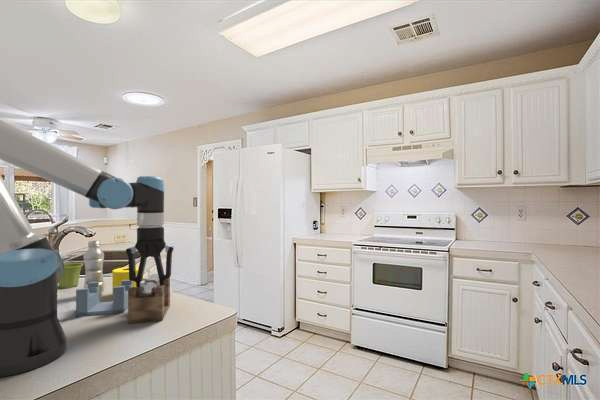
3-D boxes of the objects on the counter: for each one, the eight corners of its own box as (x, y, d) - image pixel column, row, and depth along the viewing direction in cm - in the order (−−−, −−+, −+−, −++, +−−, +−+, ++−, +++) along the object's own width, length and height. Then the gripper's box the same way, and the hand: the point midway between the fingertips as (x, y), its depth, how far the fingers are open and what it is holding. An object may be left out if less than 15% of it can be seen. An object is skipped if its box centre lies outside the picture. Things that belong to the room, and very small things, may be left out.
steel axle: (153, 296, 88) (153, 282, 88) (138, 297, 87) (138, 283, 87) (161, 285, 99) (161, 273, 99) (148, 286, 98) (148, 274, 98)
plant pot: (82, 282, 131) (82, 262, 131) (83, 286, 123) (84, 265, 123) (54, 285, 125) (54, 265, 125) (54, 291, 117) (54, 268, 117)
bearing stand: (170, 305, 100) (170, 277, 100) (162, 320, 88) (162, 287, 88) (140, 308, 98) (140, 278, 98) (128, 323, 86) (128, 290, 86)
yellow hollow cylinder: (118, 300, 106) (118, 273, 106) (108, 294, 113) (108, 269, 113) (147, 293, 114) (147, 268, 114) (136, 288, 120) (136, 265, 120)
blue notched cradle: (123, 312, 94) (123, 286, 94) (76, 316, 91) (76, 289, 91) (132, 303, 103) (132, 279, 103) (89, 306, 100) (89, 282, 100)
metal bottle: (92, 298, 108) (92, 242, 108) (78, 296, 110) (78, 242, 110) (108, 293, 114) (108, 240, 114) (95, 291, 116) (95, 239, 116)
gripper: (181, 225, 99) (181, 296, 99) (124, 226, 95) (123, 300, 95) (178, 226, 92) (178, 303, 91) (115, 228, 87) (115, 308, 87)
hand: (150, 302), depth 93 cm, fingers closed on steel axle, 4 cm apart
